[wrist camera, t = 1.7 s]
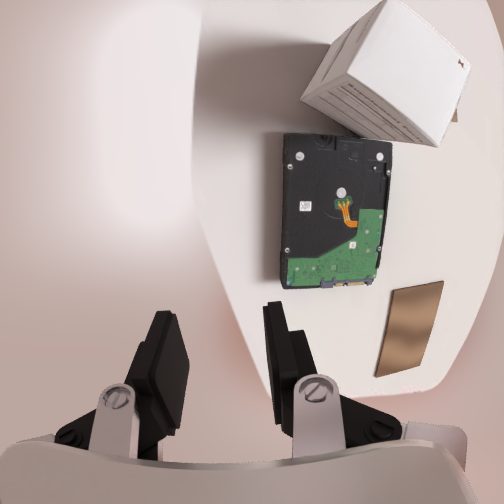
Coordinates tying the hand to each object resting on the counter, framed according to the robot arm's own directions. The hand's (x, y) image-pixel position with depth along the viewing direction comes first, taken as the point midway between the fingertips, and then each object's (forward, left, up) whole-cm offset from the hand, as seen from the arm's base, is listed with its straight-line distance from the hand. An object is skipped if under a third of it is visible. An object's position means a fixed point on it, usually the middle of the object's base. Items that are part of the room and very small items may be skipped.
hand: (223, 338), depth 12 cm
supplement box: (-12, +12, -17) cm, 24 cm away
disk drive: (0, +10, -18) cm, 21 cm away
